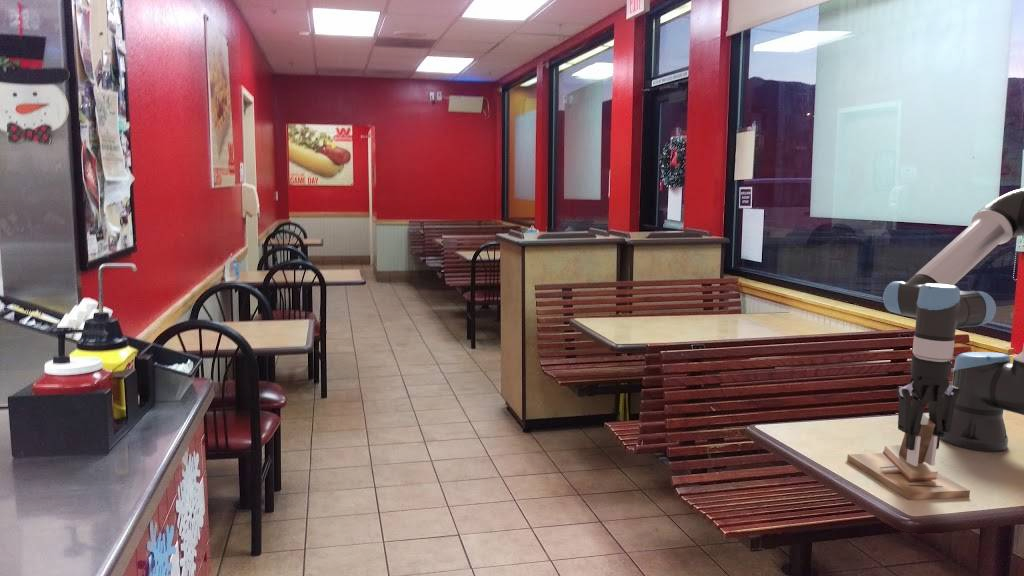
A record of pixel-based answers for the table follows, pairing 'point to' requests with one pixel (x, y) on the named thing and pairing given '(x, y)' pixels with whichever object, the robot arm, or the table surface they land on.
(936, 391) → the robot arm
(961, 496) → the board
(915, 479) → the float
